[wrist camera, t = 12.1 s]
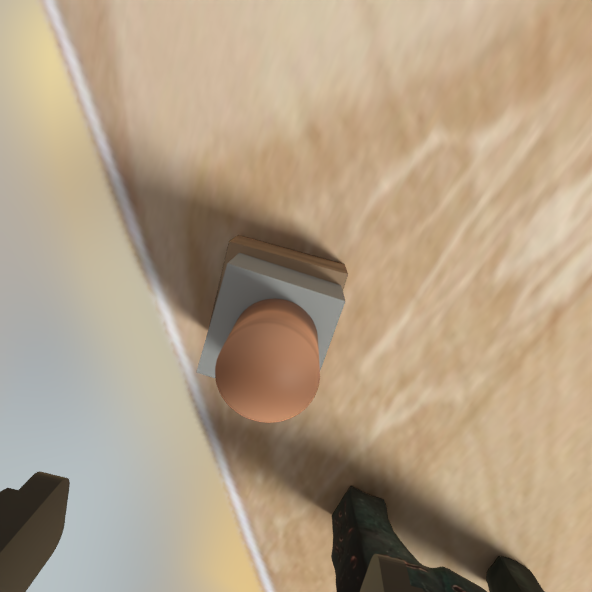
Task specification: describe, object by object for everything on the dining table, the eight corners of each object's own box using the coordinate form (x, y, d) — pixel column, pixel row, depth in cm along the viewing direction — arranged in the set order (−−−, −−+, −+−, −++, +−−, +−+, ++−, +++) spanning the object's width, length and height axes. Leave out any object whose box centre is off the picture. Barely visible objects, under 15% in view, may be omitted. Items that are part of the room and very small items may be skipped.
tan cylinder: (244, 288, 25) (229, 312, 20) (328, 312, 25) (333, 341, 21) (223, 366, 26) (204, 407, 22) (304, 388, 27) (303, 434, 22)
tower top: (239, 252, 29) (227, 263, 25) (341, 285, 29) (345, 301, 25) (211, 348, 31) (196, 372, 27) (308, 378, 31) (307, 406, 27)
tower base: (239, 234, 33) (228, 241, 29) (344, 263, 33) (347, 274, 29) (215, 333, 35) (203, 352, 31) (314, 360, 35) (314, 382, 31)
